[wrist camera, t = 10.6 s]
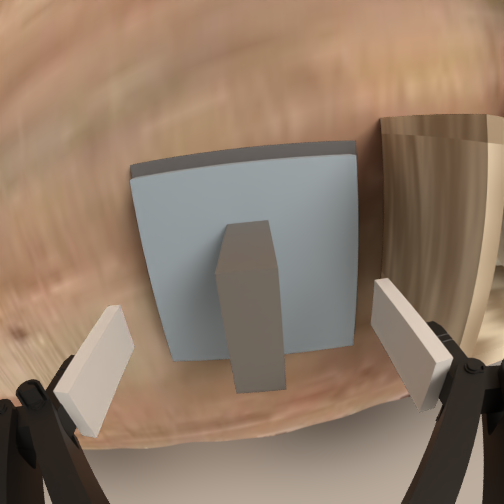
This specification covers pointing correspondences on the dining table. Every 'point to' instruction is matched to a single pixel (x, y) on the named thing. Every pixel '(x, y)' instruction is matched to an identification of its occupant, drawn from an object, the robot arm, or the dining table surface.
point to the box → (447, 223)
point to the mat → (246, 158)
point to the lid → (253, 260)
